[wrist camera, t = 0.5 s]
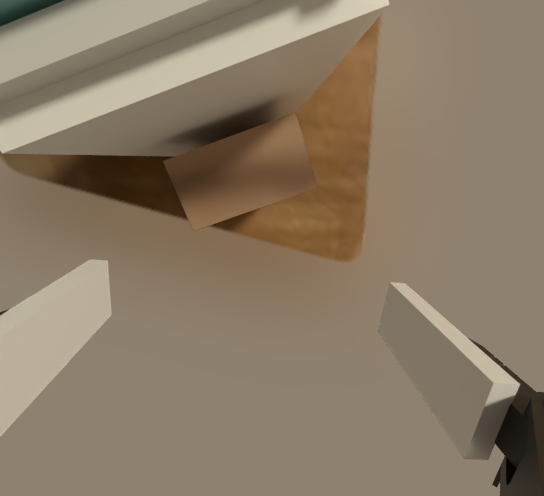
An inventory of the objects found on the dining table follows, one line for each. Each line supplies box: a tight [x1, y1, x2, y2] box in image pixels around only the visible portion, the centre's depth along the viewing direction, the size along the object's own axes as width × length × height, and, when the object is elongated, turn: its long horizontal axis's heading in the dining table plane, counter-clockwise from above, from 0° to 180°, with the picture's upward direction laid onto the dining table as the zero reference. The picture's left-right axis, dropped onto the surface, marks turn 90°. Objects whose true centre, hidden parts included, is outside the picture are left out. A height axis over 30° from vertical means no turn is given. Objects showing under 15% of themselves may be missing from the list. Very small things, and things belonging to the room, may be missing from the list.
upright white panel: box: [0, 0, 389, 156], centre depth 24 cm, size 10×17×32 cm, turn 109°
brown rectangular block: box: [163, 112, 317, 231], centre depth 33 cm, size 6×11×19 cm, turn 109°
